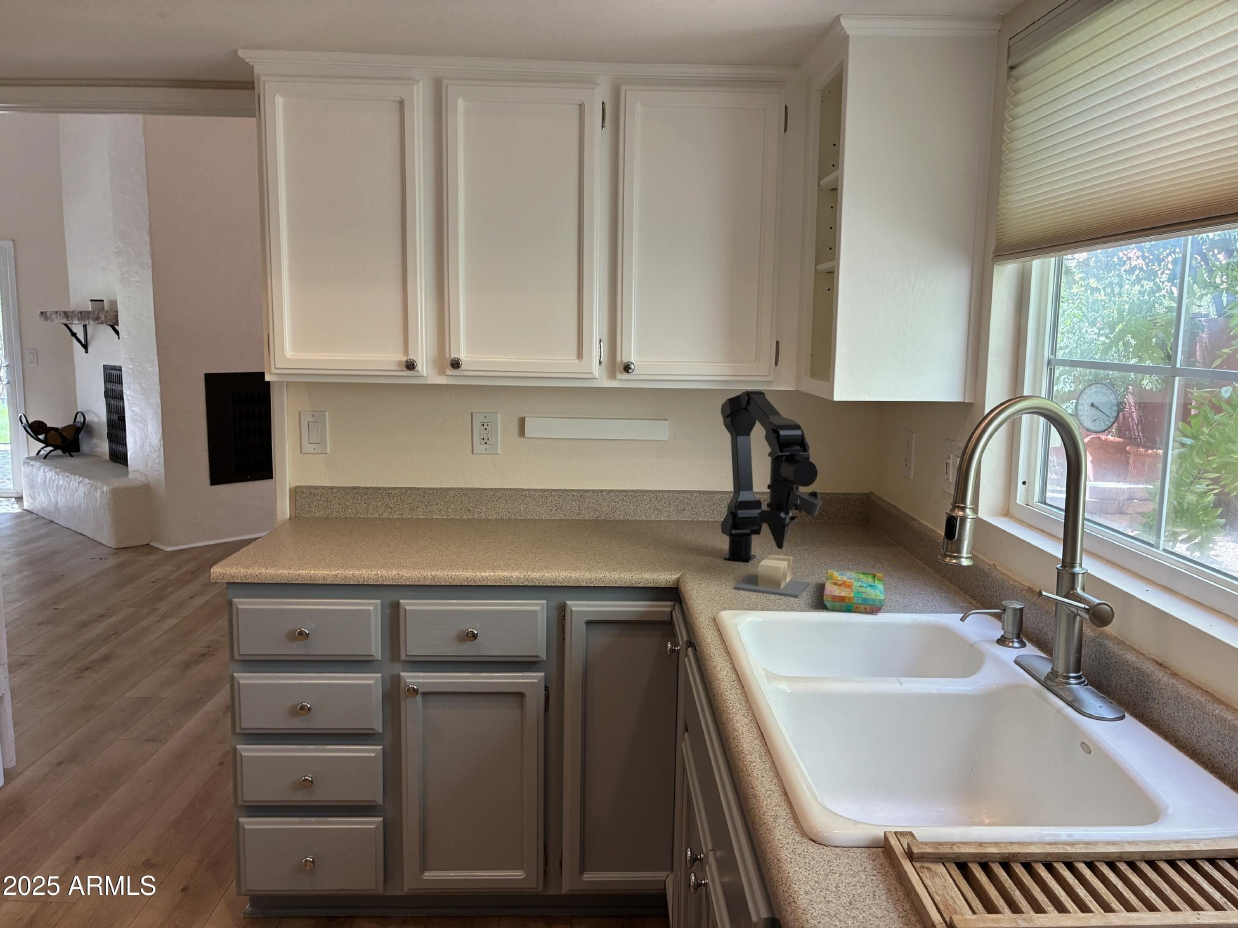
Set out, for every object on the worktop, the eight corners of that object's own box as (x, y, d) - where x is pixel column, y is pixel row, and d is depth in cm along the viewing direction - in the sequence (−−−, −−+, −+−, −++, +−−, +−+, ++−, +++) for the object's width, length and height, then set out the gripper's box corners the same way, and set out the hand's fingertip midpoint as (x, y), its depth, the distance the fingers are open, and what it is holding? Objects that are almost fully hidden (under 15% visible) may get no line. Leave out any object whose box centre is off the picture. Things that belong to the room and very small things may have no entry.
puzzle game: (823, 589, 186) (827, 565, 205) (822, 612, 187) (826, 586, 206) (884, 594, 183) (882, 570, 202) (883, 617, 184) (881, 590, 203)
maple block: (770, 554, 210) (758, 563, 201) (792, 556, 208) (781, 566, 199) (769, 575, 211) (757, 586, 202) (791, 578, 209) (780, 589, 200)
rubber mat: (748, 577, 211) (748, 574, 211) (809, 585, 206) (809, 582, 205) (734, 589, 201) (734, 586, 201) (798, 597, 196) (798, 594, 195)
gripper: (810, 488, 193) (806, 561, 195) (828, 476, 210) (825, 544, 212) (758, 484, 198) (755, 555, 200) (779, 473, 214) (777, 538, 217)
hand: (780, 548), depth 207 cm, fingers closed
